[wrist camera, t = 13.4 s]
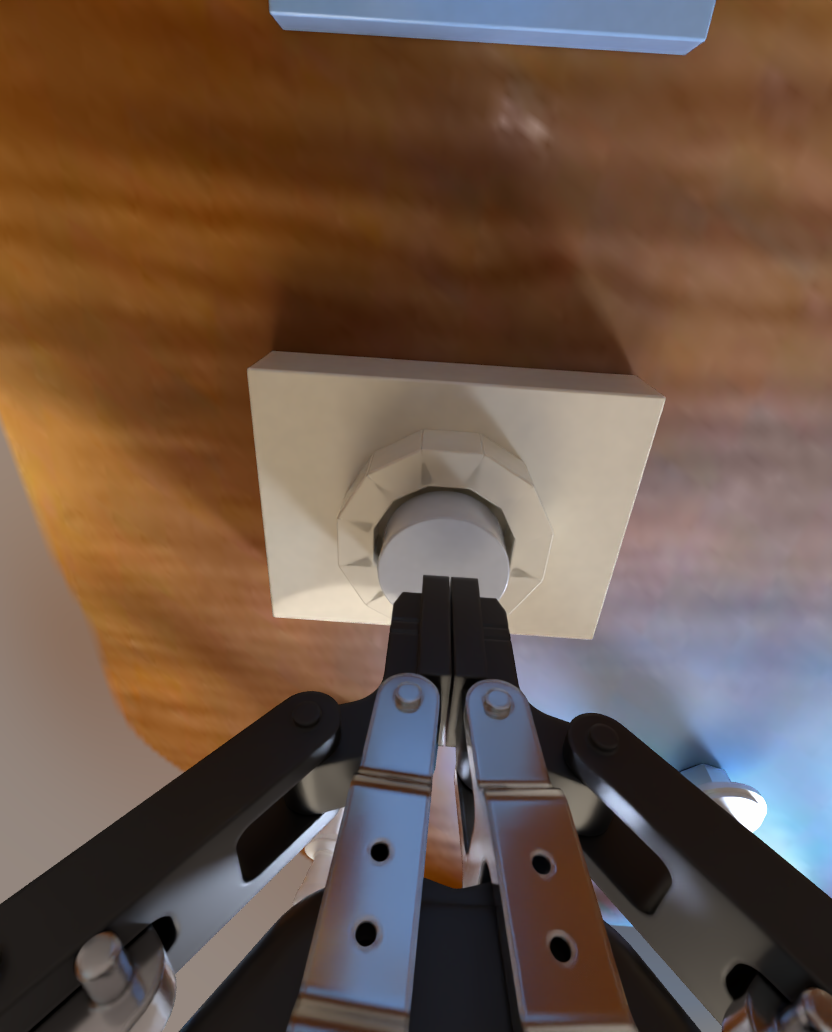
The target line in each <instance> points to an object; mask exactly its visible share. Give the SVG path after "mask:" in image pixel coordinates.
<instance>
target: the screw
mask: <svg viewBox="0 0 832 1032" xmlns="http://www.w3.org/2000/svg"><path fill="white" fill-rule="evenodd" d="M680 773H681V774H682V775H683V776H685V777H686V778H687V779H688V780H689V781H691V782H692V783H693V784H694V785H695V786H697V787H698V788H699V789H700V790H701V791H703V792H704V793H705V794H706V795H707V796H709V797H710V798H711V799H712V800H713V801H715V802H716V803H717V804H718V805H720V806H721V807H722V808H723V809H724V810H726V811H727V812H728V813H729V814H730V815H732V816H733V817H734V818H735V819H736V820H738V821H739V822H740V823H741V824H742V825H744V826H745V827H746V828H747V829H748V830H750V831H751V832H753V831H755V830H756V829H757V828H758V827H759V826H760V825H761V823H762V821H763V818H764V816H765V815H766V810H767V806H766V803H765V801H764V799H763V797H762V796H761V794H760V793H759V792H758V791H757V790H755V789H754V788H753V787H750V786H748V785H745V784H741V783H736V782H731V781H730V779H729V777H728V776H727V774H726V772H725V770H722V769H719V768H716V767H713V766H710V765H707V764H700V765H697V766H695V767H692V768H689V769H687V770H684V771H681V772H680Z"/></svg>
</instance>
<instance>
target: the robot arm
mask: <svg viewBox="0 0 832 1032" xmlns="http://www.w3.org/2000/svg"><path fill="white" fill-rule="evenodd" d="M508 627H509V626H508V620H507V614H506V611H505V609H504V608H503V607H502V605H501V604H500V603H499V601H498V600H497V599H496V598H485V597H480V592H479V583H478V578H465V577H451V580H450V581H449V576H436V575H423V582H422V593H413V592H402V593H401V595H400V596H399V597H398V598H397V600H396V601H395V602H394V603H393V610H392V618H391V626H390V633H389V641H388V649H387V656H386V664H385V672H384V677H383V680H382V683H381V684H380V686H379V687H378V688H377V689H376V690H375V691H374V692H373V693H372V694H371V695H369V696H367V697H366V698H363V699H361V700H358V701H354V702H349V703H345V704H340V705H338V704H337V702H336V701H335V700H334V699H333V698H332V697H330V696H329V695H327V694H324V693H321V692H315V691H307V692H301V693H298V694H295V695H293V696H291V697H289V698H288V699H286V700H285V701H283V702H282V703H280V704H279V705H278V706H276V707H275V708H273V709H272V710H271V711H269V712H268V713H266V714H265V715H264V716H262V717H261V718H260V719H258V720H257V721H255V722H254V723H253V724H251V725H250V726H248V727H247V728H246V729H244V730H243V731H241V732H240V733H239V734H237V735H236V736H234V737H233V738H232V739H230V740H229V741H227V742H226V743H225V744H223V745H222V746H220V747H219V748H218V749H216V750H215V751H213V752H212V753H211V754H209V755H208V756H206V757H205V758H204V759H202V760H201V761H199V762H198V763H197V764H195V765H194V766H193V767H191V768H190V769H188V770H187V771H186V772H184V773H183V774H181V775H180V776H179V777H177V778H176V779H174V780H173V781H172V782H170V783H169V784H168V785H166V786H165V787H163V788H162V789H161V790H159V791H158V792H156V793H155V794H153V795H152V796H151V797H149V798H148V799H146V800H145V801H144V802H142V803H141V804H140V805H138V806H137V807H135V808H134V809H132V810H131V811H130V812H128V813H127V814H126V815H124V816H123V817H121V818H120V819H119V820H117V821H116V822H114V823H113V824H112V825H110V826H109V827H107V828H106V829H105V830H103V831H102V832H100V833H99V834H98V835H96V836H95V837H93V838H92V839H91V840H89V841H88V842H86V843H85V844H84V845H82V846H81V847H79V848H78V849H77V850H75V851H74V852H72V853H71V854H70V855H68V856H67V857H65V858H64V859H63V860H61V861H60V862H58V863H57V864H56V865H54V866H53V867H52V868H50V869H49V870H47V871H46V872H45V873H43V874H42V875H40V876H39V877H38V878H36V879H35V880H33V881H32V882H31V883H29V884H28V885H26V886H25V887H24V888H22V889H21V890H20V891H18V892H17V893H15V894H14V895H12V896H11V897H10V898H8V899H7V900H5V901H4V902H3V903H1V904H0V1032H162V1031H163V1029H164V1027H165V1026H166V1023H167V1021H168V1019H169V1017H170V1015H171V1012H172V1009H173V1006H174V1002H175V997H176V977H175V974H176V973H177V972H178V971H179V970H180V969H181V968H182V967H183V966H184V965H185V964H186V963H187V962H188V961H189V960H190V959H191V958H192V957H193V956H194V955H195V954H196V953H197V952H198V951H199V950H200V949H201V948H202V947H203V946H204V945H205V944H206V943H207V942H208V941H209V940H210V939H211V938H212V937H213V936H214V935H215V934H216V933H217V932H218V931H219V930H220V929H221V928H222V927H223V926H225V924H227V923H228V922H229V921H230V920H231V919H232V917H234V916H235V915H236V914H237V913H238V912H239V911H240V910H241V909H242V908H243V907H244V906H245V905H246V904H247V903H248V902H249V901H250V900H251V899H252V898H253V897H254V896H255V895H256V894H257V893H258V892H259V891H260V890H261V889H262V888H263V887H264V886H265V885H266V884H267V883H268V882H269V881H270V880H271V879H272V878H273V877H274V876H275V875H276V874H277V873H278V872H279V871H280V870H281V869H282V868H283V867H284V866H285V865H286V864H287V863H288V862H289V861H290V860H291V859H293V858H294V857H295V856H296V854H298V853H299V852H300V851H301V850H302V849H303V848H304V847H305V846H306V845H307V844H308V843H309V842H310V841H311V840H312V839H313V838H314V837H315V836H316V835H317V834H318V833H319V832H320V831H321V830H322V829H323V828H324V827H325V826H326V825H327V824H328V823H329V822H330V821H331V820H332V819H333V818H334V817H335V816H336V815H337V813H338V812H339V810H340V808H343V807H345V808H344V812H343V816H342V820H341V824H340V828H339V832H338V836H337V840H336V844H335V849H334V853H333V857H332V861H331V865H330V869H329V873H328V877H327V881H326V885H325V888H322V889H320V890H318V891H316V892H314V893H312V894H310V895H308V896H306V897H305V898H304V899H302V900H301V901H299V902H298V903H296V904H295V905H294V906H293V907H292V908H291V909H289V910H288V911H287V912H286V913H285V914H284V915H282V916H281V918H280V919H279V920H278V921H277V922H276V923H275V924H274V925H273V926H272V927H271V928H270V930H269V931H268V932H267V933H266V934H265V935H264V936H263V937H262V938H261V940H260V941H259V942H258V943H257V944H256V945H255V946H254V947H253V949H252V950H251V951H250V952H249V953H248V954H247V955H246V957H245V958H244V959H243V960H242V961H241V962H240V963H239V964H238V966H237V967H236V968H235V969H234V970H233V971H232V972H231V973H230V975H229V976H228V977H227V978H226V979H225V980H224V981H223V982H222V984H221V985H220V986H219V987H218V988H217V989H216V990H215V991H214V993H213V994H212V995H211V996H210V997H209V998H208V999H207V1000H206V1002H205V1003H204V1004H203V1005H202V1006H201V1007H200V1008H199V1009H198V1011H197V1012H196V1013H195V1014H194V1015H193V1016H192V1017H191V1018H190V1020H189V1021H188V1022H187V1023H186V1024H185V1025H184V1026H183V1027H182V1029H181V1030H180V1031H179V1032H701V1031H700V1029H699V1028H698V1027H697V1026H696V1025H695V1023H694V1022H693V1021H692V1020H691V1019H690V1017H689V1016H688V1015H687V1014H686V1012H685V1011H684V1010H683V1009H682V1007H681V1006H680V1005H679V1004H678V1003H677V1001H676V1000H675V999H674V998H673V996H672V995H671V994H670V993H669V992H668V991H667V989H666V988H665V987H664V985H663V984H662V983H661V982H660V981H659V979H658V978H657V977H656V976H655V974H654V973H653V972H652V971H651V969H650V968H649V967H648V966H647V965H646V963H645V962H644V961H643V960H642V959H641V957H640V956H639V955H638V954H637V952H636V951H635V950H634V949H633V948H632V947H631V945H630V944H629V943H628V942H627V941H626V940H625V939H624V938H623V937H622V936H621V935H620V934H619V933H618V932H617V931H616V930H615V929H613V928H612V927H611V926H610V925H609V924H608V923H606V922H605V921H604V920H603V919H602V915H601V912H600V908H599V905H598V902H597V898H596V895H595V892H594V888H593V885H592V881H591V879H592V880H593V881H594V882H595V883H596V885H597V886H598V887H599V888H600V889H601V890H602V891H603V892H604V894H605V895H606V896H607V897H608V898H609V899H610V900H611V902H612V903H613V904H614V905H615V906H616V907H617V908H618V909H619V911H620V912H621V913H622V914H623V915H624V916H625V917H626V918H627V920H628V921H629V922H630V923H631V924H632V925H633V926H634V927H635V929H636V930H637V931H638V932H639V933H640V934H641V935H642V936H643V938H644V939H645V940H646V941H647V942H648V943H649V944H650V946H651V947H652V948H653V949H654V950H655V951H656V952H657V953H658V955H659V956H660V957H661V958H662V959H663V960H664V961H665V962H666V964H667V965H668V966H669V967H670V968H671V969H672V970H673V971H674V973H675V974H676V975H677V976H678V977H679V978H680V979H681V981H682V982H683V983H684V984H685V985H686V986H687V987H688V988H689V989H690V991H691V992H692V993H693V994H694V995H695V996H696V997H697V999H698V1000H699V1001H700V1002H701V1003H702V1004H703V1005H704V1006H705V1008H706V1009H707V1010H708V1011H709V1012H710V1013H711V1014H712V1016H713V1017H714V1018H715V1019H716V1020H717V1021H718V1022H719V1023H720V1025H721V1026H722V1032H832V898H830V897H829V896H828V895H827V894H826V893H824V892H823V891H822V890H821V889H820V888H818V887H817V886H816V885H815V884H814V883H812V882H811V881H810V880H809V879H808V878H806V877H805V876H804V875H803V874H802V873H800V872H799V871H798V870H797V869H795V868H794V867H793V866H792V865H791V864H789V863H788V862H787V861H786V860H785V859H783V858H782V857H781V856H780V855H779V854H777V853H776V852H775V851H774V850H773V849H771V848H770V847H769V846H768V845H767V844H765V843H764V842H763V841H762V840H761V839H759V838H758V837H757V836H756V835H754V834H753V833H752V832H751V831H750V830H748V829H747V828H746V827H745V826H744V825H742V824H741V823H740V822H739V821H738V820H736V819H735V818H734V817H733V816H732V815H730V814H729V813H728V812H727V811H726V810H724V809H723V808H722V807H721V806H720V805H718V804H717V803H716V802H715V801H713V800H712V799H711V798H710V797H709V796H707V795H706V794H705V793H704V792H703V791H701V790H700V789H699V788H698V787H697V786H695V785H694V784H693V783H692V782H691V781H689V780H688V779H687V778H686V777H685V776H683V775H682V774H681V773H680V772H679V771H677V770H676V769H675V768H674V767H672V766H671V765H670V764H669V763H668V762H666V761H665V760H664V759H663V758H662V757H660V756H659V755H658V754H657V753H656V752H654V751H653V750H652V749H651V748H650V747H648V746H647V745H646V744H645V743H644V742H642V741H641V740H640V739H639V738H637V737H636V736H635V735H634V734H633V733H631V732H630V731H629V730H628V729H627V728H625V727H624V726H623V725H622V724H620V723H619V722H618V721H616V720H614V719H612V718H610V717H608V716H605V715H602V714H597V713H584V714H581V715H578V716H577V717H575V718H574V719H573V720H572V721H571V722H570V723H569V722H566V721H563V720H561V719H558V718H555V717H552V716H549V715H547V714H545V713H543V712H541V711H539V710H538V709H536V708H535V707H533V706H532V705H531V704H530V703H529V702H528V700H527V698H526V697H525V695H524V694H523V693H522V691H520V688H519V684H518V679H517V673H516V667H515V661H514V655H513V649H512V643H511V641H510V639H511V637H510V631H509V629H508ZM445 726H446V746H448V747H456V767H455V774H454V785H455V795H456V805H457V815H458V825H459V835H460V844H461V854H462V867H463V881H462V888H461V889H453V888H450V887H447V886H445V885H442V884H439V883H437V882H434V881H431V880H429V879H426V878H424V877H423V875H424V865H425V854H426V844H427V834H428V823H429V813H430V802H431V792H432V778H433V773H434V770H435V766H436V757H437V749H438V746H443V741H444V733H445Z"/></svg>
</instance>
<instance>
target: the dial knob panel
mask: <svg viewBox="0 0 832 1032" xmlns="http://www.w3.org/2000/svg"><path fill="white" fill-rule="evenodd" d="M247 376H248V386H249V395H250V405H251V414H252V424H253V433H254V442H255V452H256V461H257V471H258V480H259V490H260V499H261V508H262V518H263V527H264V537H265V546H266V556H267V565H268V574H269V584H270V593H271V603H272V612H273V617H280V618H294V619H308V620H322V621H336V622H350V623H364V624H378V625H391V618H392V610H393V605H392V604H391V603H390V602H389V601H388V599H387V598H386V597H385V595H384V593H383V591H382V589H381V587H380V584H379V580H378V574H377V566H378V559H379V554H380V548H381V543H382V538H383V533H384V529H385V526H386V524H387V522H388V520H389V518H390V517H391V515H392V514H393V513H394V512H395V510H396V509H397V508H398V507H400V506H401V505H402V504H403V503H405V502H406V501H408V500H409V499H411V498H413V497H415V496H418V495H421V494H423V493H428V492H433V491H453V492H459V493H463V494H466V495H468V496H471V497H473V498H475V499H477V500H479V501H480V502H482V503H483V504H484V505H486V506H487V507H488V508H489V509H490V510H491V511H492V512H493V514H494V515H495V516H496V518H497V519H498V521H499V523H500V526H501V528H502V532H503V536H504V541H505V546H506V550H507V555H508V560H509V566H510V575H509V581H508V585H507V587H506V589H505V592H504V593H503V595H502V597H501V598H500V600H499V603H500V604H501V605H502V607H503V608H504V609H505V611H506V614H507V620H508V626H509V627H508V629H509V631H510V634H518V635H532V636H546V637H560V638H574V639H588V640H591V639H593V636H594V633H595V629H596V626H597V623H598V619H599V616H600V613H601V610H602V606H603V603H604V600H605V596H606V593H607V590H608V587H609V583H610V580H611V577H612V574H613V570H614V567H615V564H616V560H617V557H618V554H619V551H620V547H621V544H622V541H623V537H624V534H625V531H626V528H627V524H628V521H629V518H630V514H631V511H632V508H633V505H634V501H635V498H636V495H637V492H638V488H639V485H640V482H641V478H642V475H643V472H644V469H645V465H646V462H647V459H648V455H649V452H650V449H651V446H652V442H653V439H654V436H655V432H656V429H657V426H658V423H659V419H660V416H661V413H662V410H663V406H664V403H665V400H666V397H665V396H664V395H663V394H661V393H660V392H658V391H657V390H656V389H654V388H653V387H652V386H650V385H649V384H647V383H646V382H645V381H643V380H642V379H641V378H639V377H638V376H636V375H622V374H607V373H592V372H578V371H563V370H548V369H533V368H518V367H504V366H489V365H474V364H459V363H444V362H430V361H415V360H400V359H385V358H370V357H356V356H341V355H326V354H311V353H296V352H281V351H271V352H270V353H268V354H267V355H266V356H264V357H263V358H261V359H260V360H258V361H257V362H256V363H254V364H253V365H251V366H250V367H249V368H247Z"/></svg>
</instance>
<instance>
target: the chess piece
mask: <svg viewBox="0 0 832 1032" xmlns="http://www.w3.org/2000/svg"><path fill="white" fill-rule="evenodd" d="M344 808H345V807H343V808H340V810H339V812H338V813H337V815H336V816H335V817H334V818H333V819H332V820H331V821H330V822H329V823H328V824H327V825H326V826H325V827H324V828H323V829H322V830H321V831H320V833H318V834H317V835H316V836H315V837H314V838H313V839H312V840H311V841H310V842H309V843H308V844H307V845H306V846H305V852H306V854H307V855H308V856H309V857H310V858H311V859H313V860H314V861H313V863H312V865H311V867H310V868H309V870H308V872H307V875H306V877H305V879H304V881H303V883H302V885H301V887H300V888H299V890H298V892H297V894H296V896H295V898H294V901H293V906H294V905H295V904H296V903H298V902H299V901H301V900H302V899H304V898H305V897H306V896H308V895H310V894H312V893H314V892H316V891H318V890H320V889H322V888H325V885H326V881H327V877H328V873H329V869H330V865H331V861H332V857H333V853H334V849H335V844H336V840H337V836H338V832H339V828H340V824H341V820H342V816H343V812H344Z"/></svg>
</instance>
